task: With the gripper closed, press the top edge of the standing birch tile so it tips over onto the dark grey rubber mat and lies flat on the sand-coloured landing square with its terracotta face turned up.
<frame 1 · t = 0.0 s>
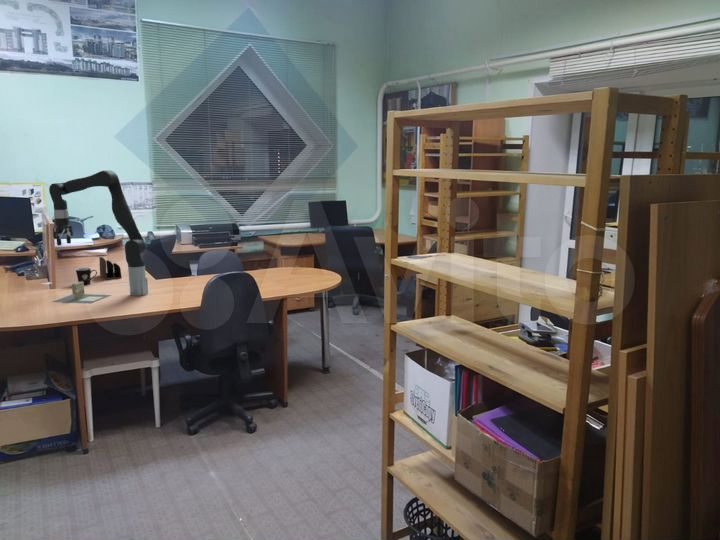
hand: (64, 244, 321), 29 cm above the table, tool pointing down, fingers open, 8 cm apart
rubber mat: (82, 300, 307), on the table
letter holder: (110, 277, 373), on the table
coffee mug: (87, 284, 349), on the table
birch tile: (79, 298, 307), point 1 cm above the table, touching rubber mat
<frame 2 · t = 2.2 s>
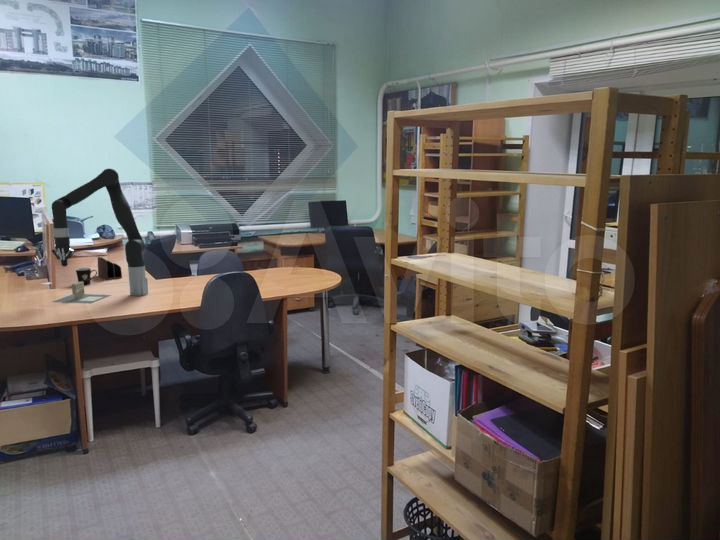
hand: (64, 266, 304), 19 cm above the table, tool pointing down, fingers closed
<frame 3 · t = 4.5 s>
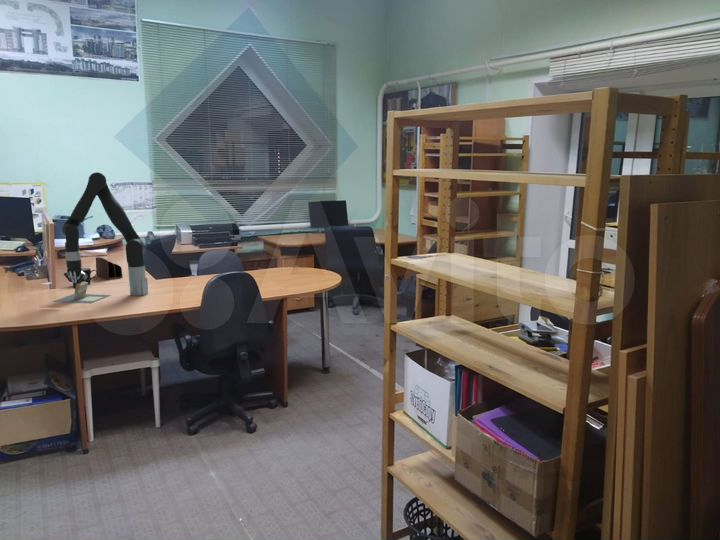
hand: (76, 289, 306), 6 cm above the table, tool pointing down, fingers closed
birch tile: (79, 297, 307), point 1 cm above the table, tilted 18°, touching rubber mat
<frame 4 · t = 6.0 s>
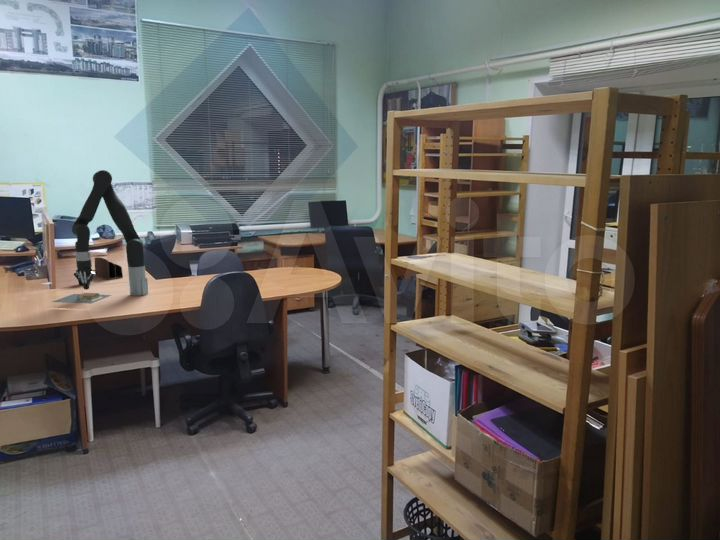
hand: (86, 289, 305), 6 cm above the table, tool pointing down, fingers closed
birch tile: (81, 296, 306), point 2 cm above the table, tilted 90°, touching rubber mat
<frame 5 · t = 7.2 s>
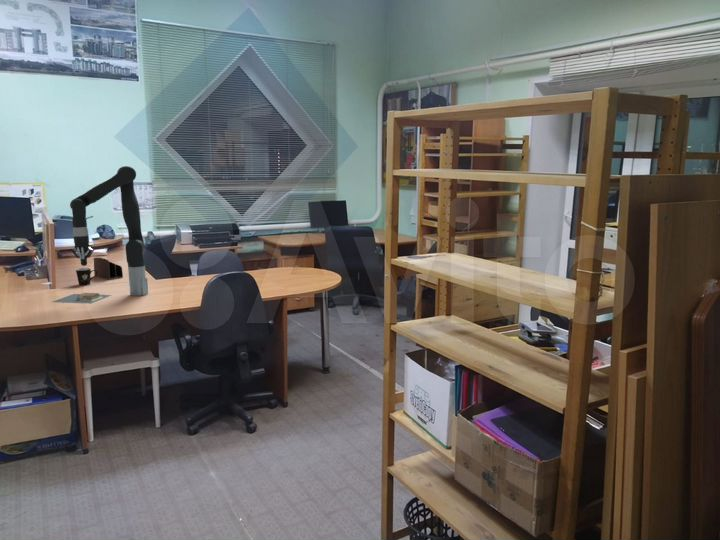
hand: (84, 265, 302), 20 cm above the table, tool pointing down, fingers closed
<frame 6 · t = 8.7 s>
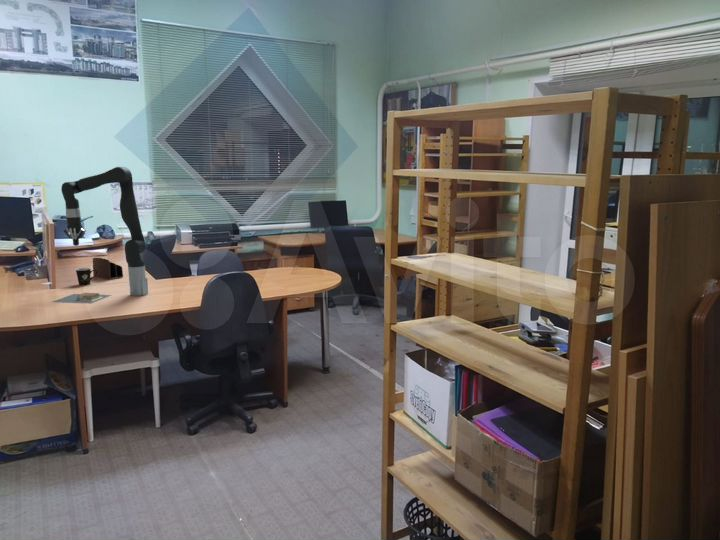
hand: (76, 245, 318), 29 cm above the table, tool pointing down, fingers closed
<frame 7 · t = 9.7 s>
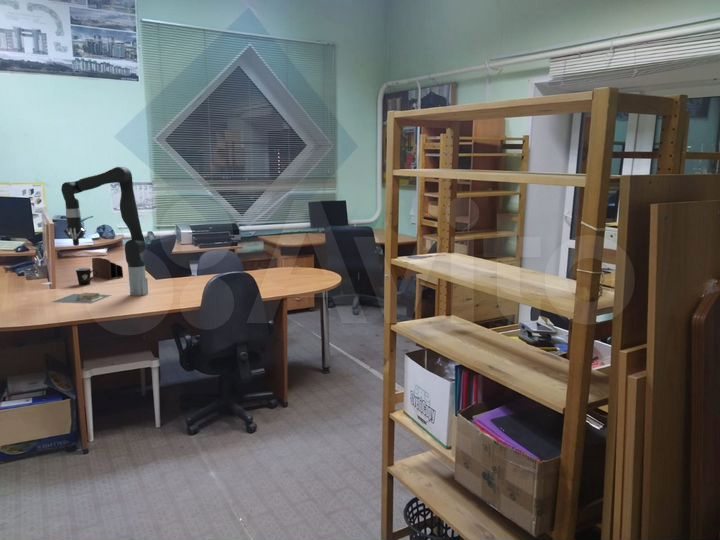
hand: (76, 245, 318), 29 cm above the table, tool pointing down, fingers closed
at the end: birch tile tilted 90°; birch tile inside the target area on the rubber mat (3.7 cm from its centre), point 2.2 cm above the rubber mat's base; the gripper is holding nothing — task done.
